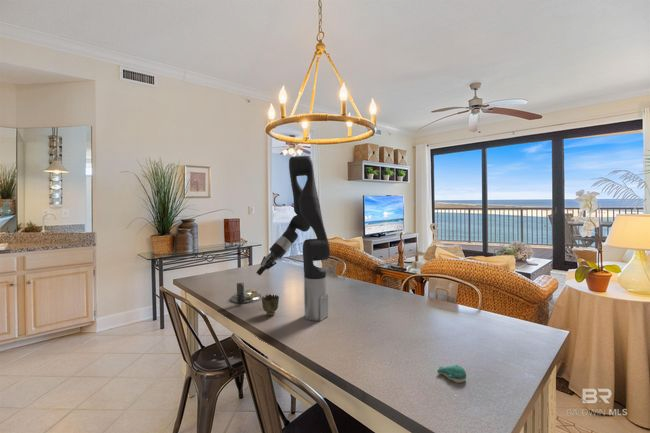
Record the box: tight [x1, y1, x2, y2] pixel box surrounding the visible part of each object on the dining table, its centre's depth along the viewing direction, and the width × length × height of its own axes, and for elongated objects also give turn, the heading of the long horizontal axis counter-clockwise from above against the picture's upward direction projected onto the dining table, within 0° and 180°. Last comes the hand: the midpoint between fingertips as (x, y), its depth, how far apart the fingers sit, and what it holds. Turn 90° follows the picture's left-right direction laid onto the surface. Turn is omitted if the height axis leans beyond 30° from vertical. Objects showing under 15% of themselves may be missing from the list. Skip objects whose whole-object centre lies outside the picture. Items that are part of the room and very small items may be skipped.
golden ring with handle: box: [233, 282, 259, 304], centre depth 153 cm, size 17×12×9 cm
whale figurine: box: [436, 364, 467, 384], centre depth 86 cm, size 6×7×4 cm
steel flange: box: [230, 290, 262, 304], centre depth 157 cm, size 15×15×3 cm
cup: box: [261, 293, 280, 317], centre depth 134 cm, size 8×7×8 cm
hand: (258, 274), depth 151 cm, fingers closed
